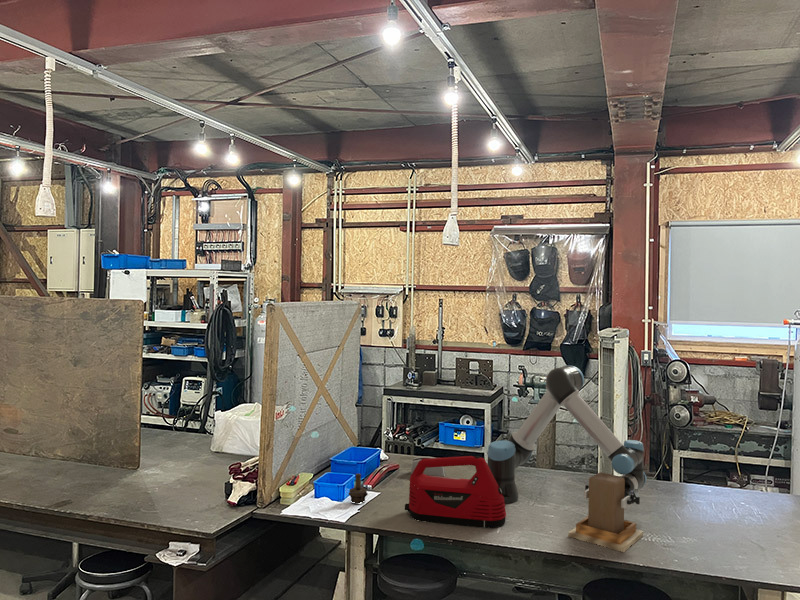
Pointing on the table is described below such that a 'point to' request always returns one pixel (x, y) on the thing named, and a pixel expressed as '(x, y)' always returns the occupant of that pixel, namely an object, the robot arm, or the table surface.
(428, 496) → the power tool
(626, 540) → the wooden tray
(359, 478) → the industrial component
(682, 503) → the table surface
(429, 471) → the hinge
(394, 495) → the table surface
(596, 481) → the block
